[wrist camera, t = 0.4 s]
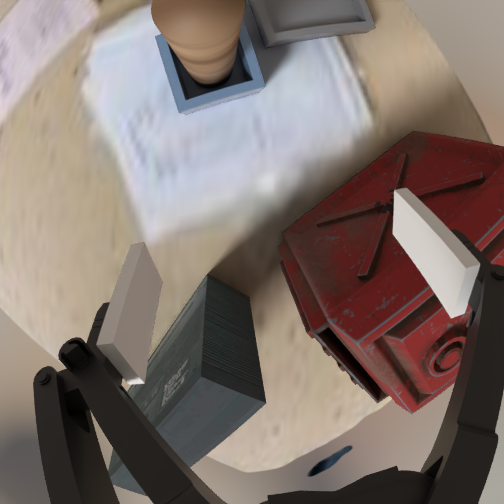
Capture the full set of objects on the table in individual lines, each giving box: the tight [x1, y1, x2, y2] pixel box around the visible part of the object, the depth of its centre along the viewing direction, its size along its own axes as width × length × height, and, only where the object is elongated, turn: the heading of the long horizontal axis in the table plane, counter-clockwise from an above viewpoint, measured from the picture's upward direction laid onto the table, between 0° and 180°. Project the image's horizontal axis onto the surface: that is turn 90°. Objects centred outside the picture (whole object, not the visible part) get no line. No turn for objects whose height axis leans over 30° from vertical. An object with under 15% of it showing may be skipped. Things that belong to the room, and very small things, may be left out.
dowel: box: [151, 0, 246, 88], centre depth 23 cm, size 5×5×22 cm
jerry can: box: [277, 131, 504, 414], centre depth 32 cm, size 30×16×25 cm, turn 128°
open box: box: [155, 19, 266, 115], centre depth 31 cm, size 9×9×7 cm
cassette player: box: [108, 274, 266, 496], centre depth 40 cm, size 29×7×20 cm, turn 144°
